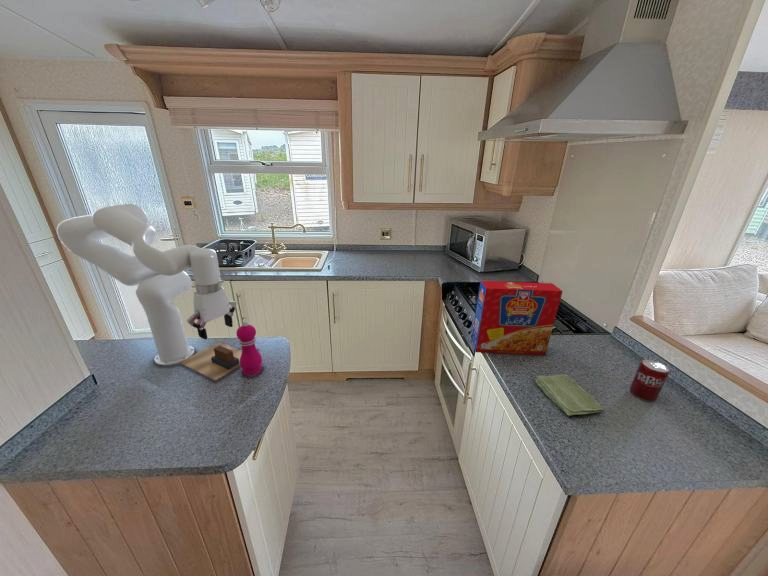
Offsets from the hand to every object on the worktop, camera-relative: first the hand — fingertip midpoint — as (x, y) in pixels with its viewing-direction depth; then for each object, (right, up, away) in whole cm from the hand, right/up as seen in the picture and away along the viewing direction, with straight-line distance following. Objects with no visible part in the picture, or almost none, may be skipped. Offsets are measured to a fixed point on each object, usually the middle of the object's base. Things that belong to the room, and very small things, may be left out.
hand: (216, 331), depth 107 cm
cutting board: (-3, -12, +7) cm, 14 cm away
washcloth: (+118, -21, -6) cm, 120 cm away
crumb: (+3, -9, +14) cm, 17 cm away
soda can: (+145, -21, -4) cm, 147 cm away
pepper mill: (+12, -15, +2) cm, 19 cm away
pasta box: (+110, -10, +20) cm, 112 cm away
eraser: (+1, -12, +5) cm, 13 cm away
